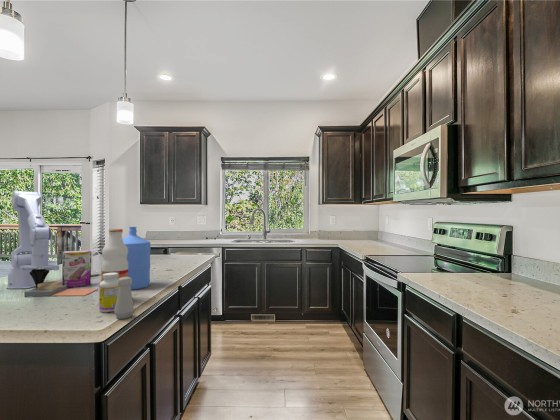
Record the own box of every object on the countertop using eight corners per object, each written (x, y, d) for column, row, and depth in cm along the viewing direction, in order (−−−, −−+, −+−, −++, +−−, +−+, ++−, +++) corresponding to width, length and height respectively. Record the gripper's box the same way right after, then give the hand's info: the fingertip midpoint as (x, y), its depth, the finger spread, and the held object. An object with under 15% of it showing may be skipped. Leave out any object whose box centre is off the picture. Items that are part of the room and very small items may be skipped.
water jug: (157, 284, 150) (158, 226, 150) (132, 292, 135) (133, 227, 135) (131, 282, 155) (132, 226, 155) (104, 289, 140) (105, 227, 140)
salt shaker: (112, 320, 99) (112, 279, 99) (116, 315, 104) (117, 276, 104) (132, 319, 100) (132, 278, 101) (135, 313, 106) (135, 275, 106)
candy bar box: (62, 289, 139) (63, 252, 139) (61, 287, 143) (62, 251, 143) (91, 285, 146) (91, 250, 146) (89, 283, 150) (90, 249, 150)
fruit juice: (99, 299, 123) (101, 228, 124) (126, 295, 129) (127, 228, 129) (101, 304, 116) (102, 229, 116) (129, 301, 121) (130, 229, 121)
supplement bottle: (101, 308, 112) (102, 272, 112) (121, 306, 114) (122, 271, 114) (97, 313, 105) (97, 275, 105) (118, 312, 107) (119, 274, 108)
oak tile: (37, 290, 128) (37, 284, 129) (47, 286, 134) (47, 281, 135) (52, 290, 129) (52, 284, 129) (61, 286, 135) (61, 281, 135)
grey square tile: (24, 296, 126) (24, 291, 126) (42, 290, 137) (43, 285, 137) (50, 296, 127) (50, 291, 127) (66, 289, 138) (66, 285, 138)
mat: (51, 296, 127) (51, 295, 127) (67, 289, 138) (67, 289, 138) (84, 296, 128) (84, 295, 128) (98, 289, 139) (98, 288, 139)
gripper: (14, 256, 127) (13, 289, 127) (52, 256, 128) (51, 289, 128) (27, 254, 134) (26, 285, 134) (62, 254, 135) (61, 285, 135)
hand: (39, 287), depth 131 cm, fingers closed
